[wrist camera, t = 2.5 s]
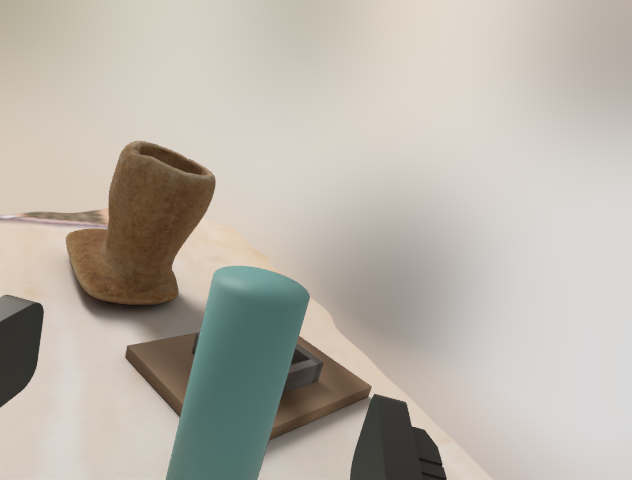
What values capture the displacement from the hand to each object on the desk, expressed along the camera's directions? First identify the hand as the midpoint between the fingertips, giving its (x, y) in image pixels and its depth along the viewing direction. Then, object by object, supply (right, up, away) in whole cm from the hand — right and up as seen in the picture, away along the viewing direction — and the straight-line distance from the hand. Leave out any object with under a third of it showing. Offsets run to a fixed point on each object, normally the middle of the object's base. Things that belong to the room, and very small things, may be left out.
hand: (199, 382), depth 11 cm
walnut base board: (-3, -8, +29) cm, 30 cm away
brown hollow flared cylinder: (-17, -1, +40) cm, 44 cm away
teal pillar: (-3, -12, +14) cm, 18 cm away
